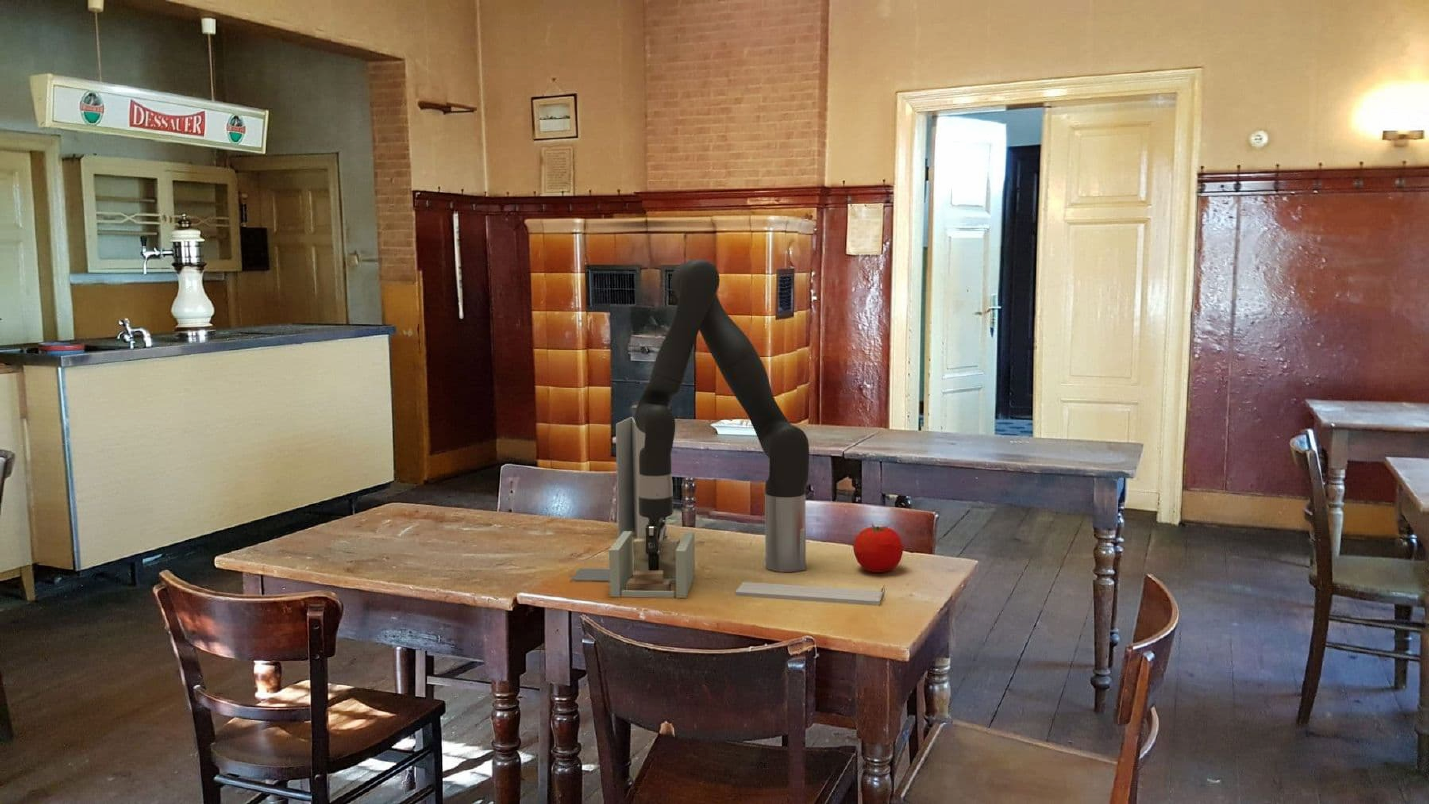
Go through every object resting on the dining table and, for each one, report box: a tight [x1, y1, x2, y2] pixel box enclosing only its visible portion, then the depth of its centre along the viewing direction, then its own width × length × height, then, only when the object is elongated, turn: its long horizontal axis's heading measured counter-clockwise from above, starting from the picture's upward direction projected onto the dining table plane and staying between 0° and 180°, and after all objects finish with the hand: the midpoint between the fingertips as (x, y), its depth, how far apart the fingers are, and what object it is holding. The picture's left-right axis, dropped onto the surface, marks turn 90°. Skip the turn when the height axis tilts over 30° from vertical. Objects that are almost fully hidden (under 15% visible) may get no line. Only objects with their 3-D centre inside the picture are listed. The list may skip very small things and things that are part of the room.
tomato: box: [852, 523, 904, 573], centre depth 235 cm, size 11×13×10 cm
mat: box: [570, 568, 610, 583], centre depth 233 cm, size 10×9×1 cm
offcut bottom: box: [625, 579, 672, 591], centre depth 219 cm, size 9×3×3 cm, turn 83°
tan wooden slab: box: [633, 538, 681, 579], centre depth 229 cm, size 10×2×9 cm, turn 84°
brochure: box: [615, 416, 649, 539], centre depth 271 cm, size 14×6×30 cm, turn 168°
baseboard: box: [734, 581, 886, 606], centre depth 218 cm, size 30×3×10 cm
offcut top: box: [633, 570, 663, 584], centre depth 219 cm, size 6×3×2 cm, turn 92°
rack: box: [608, 530, 696, 599], centre depth 224 cm, size 16×16×10 cm
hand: (656, 565), depth 229 cm, fingers open, 8 cm apart
